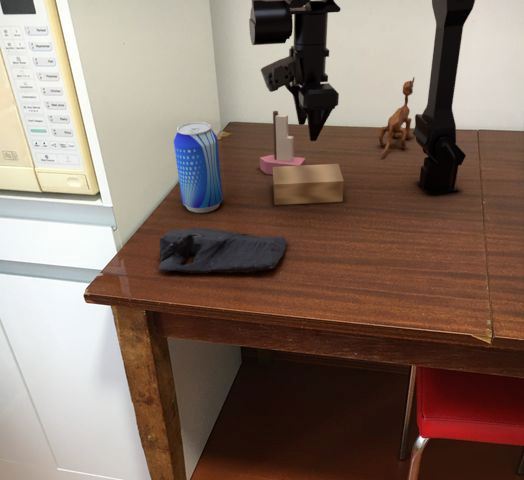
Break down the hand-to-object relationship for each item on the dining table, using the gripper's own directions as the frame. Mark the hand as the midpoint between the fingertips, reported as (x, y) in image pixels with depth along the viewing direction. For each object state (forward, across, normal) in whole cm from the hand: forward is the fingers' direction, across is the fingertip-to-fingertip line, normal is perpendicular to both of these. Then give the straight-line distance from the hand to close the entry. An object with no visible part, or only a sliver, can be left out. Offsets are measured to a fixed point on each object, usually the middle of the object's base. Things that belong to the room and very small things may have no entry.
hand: (307, 132), depth 113 cm
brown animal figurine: (+14, -25, +28) cm, 40 cm away
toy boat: (+14, -17, -1) cm, 23 cm away
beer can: (+15, -5, -20) cm, 26 cm away
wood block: (+14, -4, +2) cm, 15 cm away
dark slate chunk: (+15, +17, -19) cm, 30 cm away
